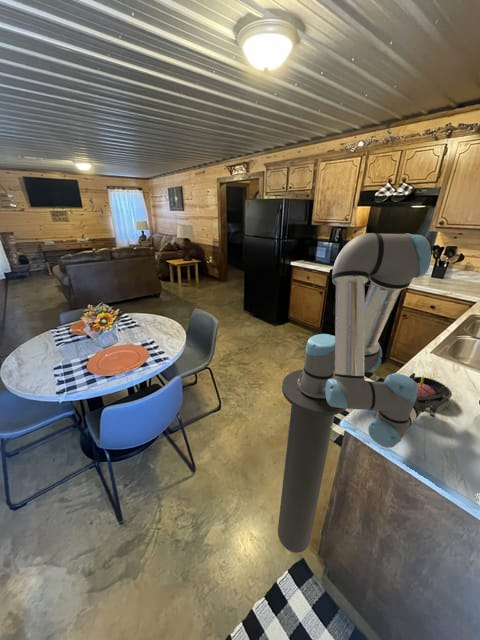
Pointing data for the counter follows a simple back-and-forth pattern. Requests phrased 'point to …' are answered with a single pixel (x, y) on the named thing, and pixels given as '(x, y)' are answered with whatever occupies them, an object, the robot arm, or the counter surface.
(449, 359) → the counter surface
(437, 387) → the dark round bowl
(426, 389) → the cupcake
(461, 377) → the counter surface
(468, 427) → the counter surface
